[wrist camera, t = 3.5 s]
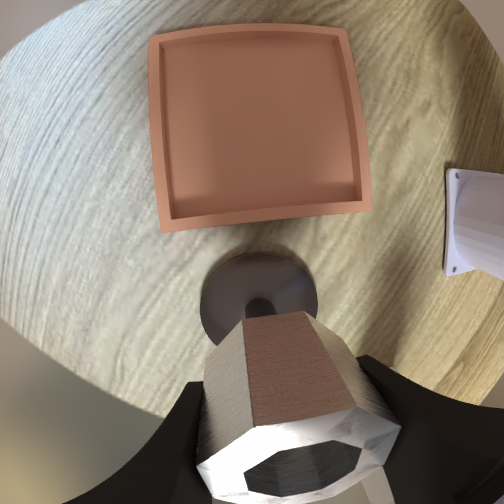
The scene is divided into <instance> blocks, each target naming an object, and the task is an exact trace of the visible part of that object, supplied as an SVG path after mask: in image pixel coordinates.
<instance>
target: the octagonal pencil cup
mask: <svg viewBox="0 0 504 504" xmlns="http://www.w3.org/2000/svg"><path fill="white" fill-rule="evenodd" d="M400 429H401V425H400V424H399V422H398V421H397V419H396V418H395V416H394V415H393V413H392V412H391V410H390V409H389V407H388V406H387V404H386V403H385V401H384V400H383V398H382V397H381V395H380V394H379V392H378V391H377V389H376V388H375V386H374V385H373V383H372V382H371V380H370V379H369V377H368V376H367V374H366V373H365V372H364V370H363V369H362V367H361V366H360V364H359V363H358V361H357V360H356V358H355V357H354V355H353V354H352V352H351V351H350V350H349V348H348V347H347V345H346V344H345V342H344V341H343V339H342V338H340V337H339V336H338V335H336V334H335V333H334V332H332V331H331V330H329V329H328V328H327V327H325V326H324V325H323V324H321V323H320V322H319V321H317V320H316V319H314V318H313V317H312V316H310V315H309V314H308V313H306V312H305V311H298V312H291V313H284V314H277V315H270V316H262V317H254V318H246V319H243V320H241V321H240V322H239V323H238V324H237V325H236V326H235V327H234V329H233V330H232V331H231V332H230V333H229V334H228V335H227V336H226V337H225V338H224V340H223V341H222V342H221V343H220V344H219V345H218V346H217V347H216V348H215V349H214V350H213V351H212V353H211V354H210V355H209V356H208V357H207V358H206V363H205V372H204V382H203V395H202V403H201V414H200V425H199V437H198V450H197V464H196V467H197V469H198V471H199V473H200V475H201V476H202V478H203V480H204V482H205V484H206V485H207V487H208V489H209V490H210V492H211V494H212V496H213V497H214V498H217V499H220V500H225V501H229V502H233V503H237V504H304V503H309V502H313V501H318V500H322V499H326V498H330V497H333V496H335V495H337V494H339V493H340V492H342V491H344V490H346V489H347V488H349V487H351V486H352V485H354V484H356V483H357V482H359V481H360V480H362V479H364V478H365V477H367V476H368V475H370V474H371V473H373V472H374V471H376V470H377V469H379V468H380V467H382V466H383V465H384V463H385V461H386V459H387V457H388V455H389V453H390V451H391V449H392V447H393V445H394V442H395V440H396V438H397V436H398V433H399V431H400Z"/></svg>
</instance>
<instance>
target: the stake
mask: <svg viewBox="0 0 504 504" xmlns="http://www.w3.org/2000/svg"><path fill="white" fill-rule="evenodd" d="M317 309H318V300H317V293H316V290H315V287H314V284H313V282H312V281H311V279H310V277H309V276H308V275H307V274H306V272H305V271H304V270H303V269H302V268H301V267H300V266H299V265H298V264H297V263H295V262H294V261H292V260H291V259H289V258H287V257H285V256H282V255H279V254H275V253H270V252H252V253H246V254H243V255H240V256H237V257H235V258H233V259H230V260H229V261H227V262H226V263H224V264H223V265H222V266H220V267H219V268H218V269H217V270H216V271H215V272H214V273H213V274H212V276H211V277H210V278H209V280H208V282H207V284H206V285H205V287H204V290H203V293H202V298H201V303H200V316H201V321H202V325H203V327H204V330H205V332H206V334H207V335H208V337H209V338H210V339H211V341H212V342H213V343H214V344H215V345H216V346H218V345H219V344H220V343H221V342H222V341H223V340H224V338H225V337H226V336H227V335H228V334H229V333H230V332H231V331H232V330H233V329H234V327H235V326H236V325H237V324H238V323H239V322H240V321H241V320H243V319H246V318H254V317H262V316H270V315H277V314H284V313H291V312H298V311H305V312H306V313H308V314H309V315H310V316H312V317H313V318H314V319H316V315H317Z"/></svg>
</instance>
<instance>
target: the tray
mask: <svg viewBox="0 0 504 504" xmlns="http://www.w3.org/2000/svg"><path fill="white" fill-rule="evenodd" d="M148 90H149V117H150V134H151V148H152V160H153V170H154V180H155V189H156V197H157V205H158V212H159V219H160V226H161V233H167V232H175V231H183V230H190V229H198V228H206V227H215V226H223V225H232V224H240V223H249V222H259V221H268V220H278V219H288V218H298V217H309V216H320V215H331V214H343V213H356V212H369V211H372V194H371V178H370V165H369V154H368V145H367V136H366V128H365V121H364V114H363V107H362V101H361V96H360V90H359V85H358V79H357V75H356V70H355V65H354V61H353V56H352V52H351V48H350V44H349V40H348V36H347V33H346V29H340V28H333V27H325V26H316V25H305V24H288V23H244V24H228V25H216V26H207V27H199V28H192V29H185V30H179V31H174V32H169V33H164V34H159V35H154V36H150V37H149V47H148Z"/></svg>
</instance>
